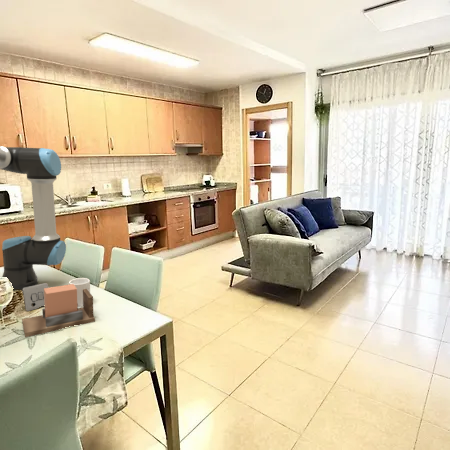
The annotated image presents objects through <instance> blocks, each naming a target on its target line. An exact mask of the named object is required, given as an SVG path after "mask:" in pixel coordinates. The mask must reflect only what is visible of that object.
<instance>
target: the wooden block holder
mask: <svg viewBox="0 0 450 450" xmlns="http://www.w3.org/2000/svg"><path fill="white" fill-rule="evenodd" d="M41 309H42V311H41V312H42V314H41V315H36V316H31V317H25V318H22V319H21V324H22V329H23V332H24V338H28V337H33V336H37V335H43V334H47V333H51V332H54V331H59V329H60V330H63V329H62V328H64V329H66V328H65V327H69V326H73V327H75V326H74V325H78V326H81V325H80V324H82V325H86V324H90V323H95V322H96V317H95V316H94V296H93V295H92V294H91V291H90V292H89V291H88V290H87V289H83V306H81V307H78V303H77V309H78V311H75V312H70V313H65V314H60V315H55V316H50V317H45V307H44V308H41ZM69 328H70V327H69Z"/></svg>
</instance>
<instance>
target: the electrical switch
mask: <svg viewBox="0 0 450 450" xmlns="http://www.w3.org/2000/svg"><path fill="white" fill-rule="evenodd" d="M44 288H49V285H48V283H46V282H45V283H40V284H36V285H35V286H30V287H26V288H23V289H21V290H22V297H23V302H24V307H25V311H26V312H29V311H33V310H36V309H40V308H39V307H41V306H44V305H45V302H44ZM44 307H45V306H44ZM41 308H42V307H41Z"/></svg>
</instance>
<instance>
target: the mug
mask: <svg viewBox="0 0 450 450" xmlns="http://www.w3.org/2000/svg"><path fill="white" fill-rule="evenodd" d="M70 284H74V285H75V287H76V288H77V303H78V308H80V307H83V289H87V290H88V291H89V292H90V293H91V280H90V279H89V278H87V277H77V278H73V279H71V280H69V282H68V285H70Z"/></svg>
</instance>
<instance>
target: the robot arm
mask: <svg viewBox="0 0 450 450" xmlns="http://www.w3.org/2000/svg"><path fill="white" fill-rule="evenodd" d="M0 170H3V171H6V172H11V173H14V174H18V175H19V174H20V175H26V179H27V180H28V181H29V182H30V183H31V196H32V207H33V208H32V209H33V220H34V233H35V234H34V235H33V237H32V236H29V235H23V236H22V235H21V236H16V237H10V238H7V239H4V240H3V241H2V245H1V246H2V247H1V248H2V249H1V251H2V259H3V272H2V276H1V278H2V277H7V278H8V279H9V280H10V282H11V283H12V286H13V288H14V289H20V290H23V288H26V287H30V286H35V285H38V283H39V280H38V276H37V273H36V272H35V269H34V265H35V266H38V265H39V266H40V265H41V266H58V265H60V264H61V263H62V262H63V260H64V258H65V256H66V253H67V244H66V242H65V241H63V240H61V235H59V234H58V233H57V224H56V223H57V219H56V207H55V195H54V194H55V193H54V190H55V189H54V182H55V181H56V180H57V176H59V175H60V174H61V171H62V163H61V159H60V156H59V155H58V153H57V152H56V151H55V150H53V149H51V148H44V147H41V148H40V147H20V146H18V147H17V146H16V147H14V146H13V147H12V146H11V147H10V146H9V147H8V146H3V145H2V146H1V145H0Z"/></svg>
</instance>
